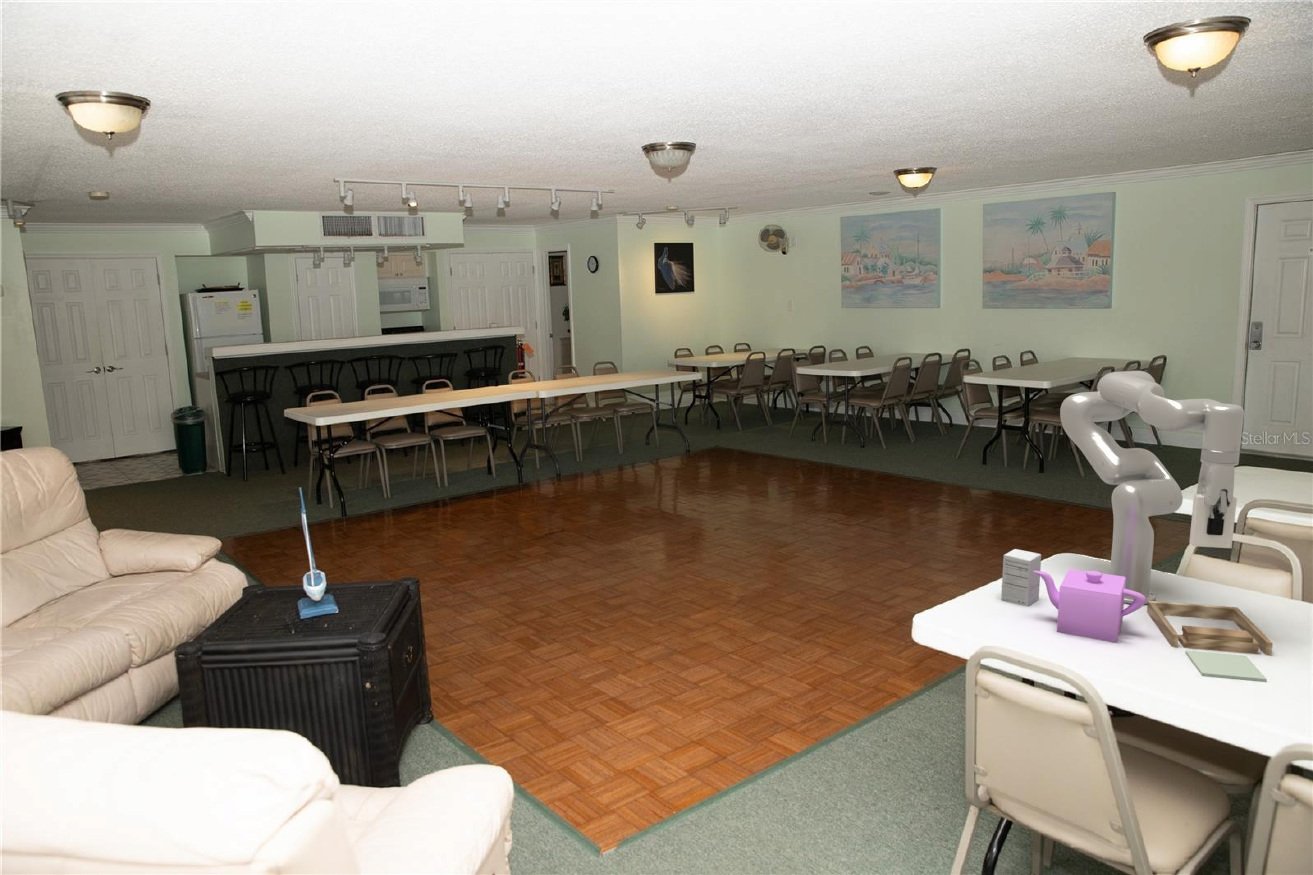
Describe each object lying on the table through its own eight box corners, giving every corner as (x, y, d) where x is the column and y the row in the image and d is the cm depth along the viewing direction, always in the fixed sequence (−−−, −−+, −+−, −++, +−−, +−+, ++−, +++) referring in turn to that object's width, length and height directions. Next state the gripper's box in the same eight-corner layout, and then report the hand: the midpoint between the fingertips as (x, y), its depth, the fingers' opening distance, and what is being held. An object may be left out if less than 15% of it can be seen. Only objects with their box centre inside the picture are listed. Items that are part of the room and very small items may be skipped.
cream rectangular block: (1193, 546, 209) (1198, 497, 206) (1189, 542, 211) (1194, 494, 209) (1231, 548, 206) (1236, 498, 204) (1227, 544, 209) (1232, 495, 207)
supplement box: (1012, 592, 239) (1014, 548, 237) (1039, 599, 234) (1042, 553, 231) (1000, 599, 234) (1002, 554, 231) (1027, 606, 228) (1030, 560, 226)
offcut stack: (1183, 647, 202) (1185, 632, 202) (1177, 639, 207) (1178, 624, 206) (1258, 653, 198) (1259, 638, 198) (1250, 645, 203) (1252, 630, 202)
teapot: (1035, 607, 229) (1038, 555, 226) (1144, 625, 216) (1149, 571, 213) (1024, 626, 216) (1028, 572, 214) (1140, 647, 203) (1145, 589, 200)
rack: (1171, 646, 203) (1172, 634, 202) (1146, 611, 224) (1147, 600, 223) (1271, 655, 197) (1272, 642, 197) (1236, 618, 218) (1237, 607, 218)
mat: (1202, 675, 188) (1202, 673, 188) (1185, 652, 199) (1185, 650, 199) (1266, 681, 185) (1266, 679, 185) (1245, 658, 196) (1245, 655, 196)
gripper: (1191, 449, 214) (1183, 522, 217) (1213, 463, 198) (1204, 541, 202) (1226, 450, 212) (1218, 524, 215) (1251, 464, 196) (1242, 543, 200)
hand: (1211, 531), depth 208 cm, fingers closed on cream rectangular block, 3 cm apart
